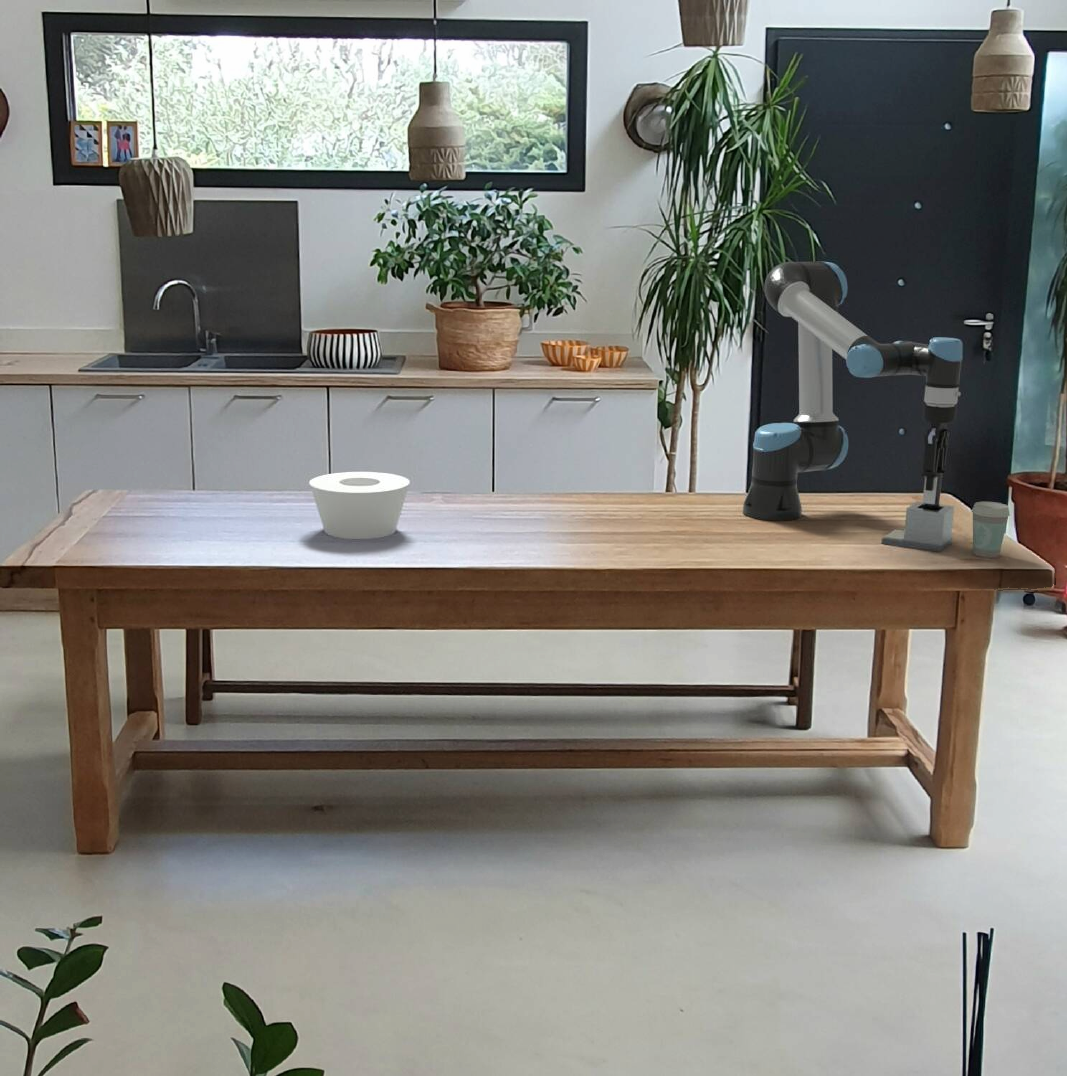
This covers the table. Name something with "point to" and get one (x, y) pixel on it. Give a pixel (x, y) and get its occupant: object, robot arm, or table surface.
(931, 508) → the black tapered cylinder
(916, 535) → the square frame housing
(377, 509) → the white tapered cylinder
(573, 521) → the table surface
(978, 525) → the coffee cup
